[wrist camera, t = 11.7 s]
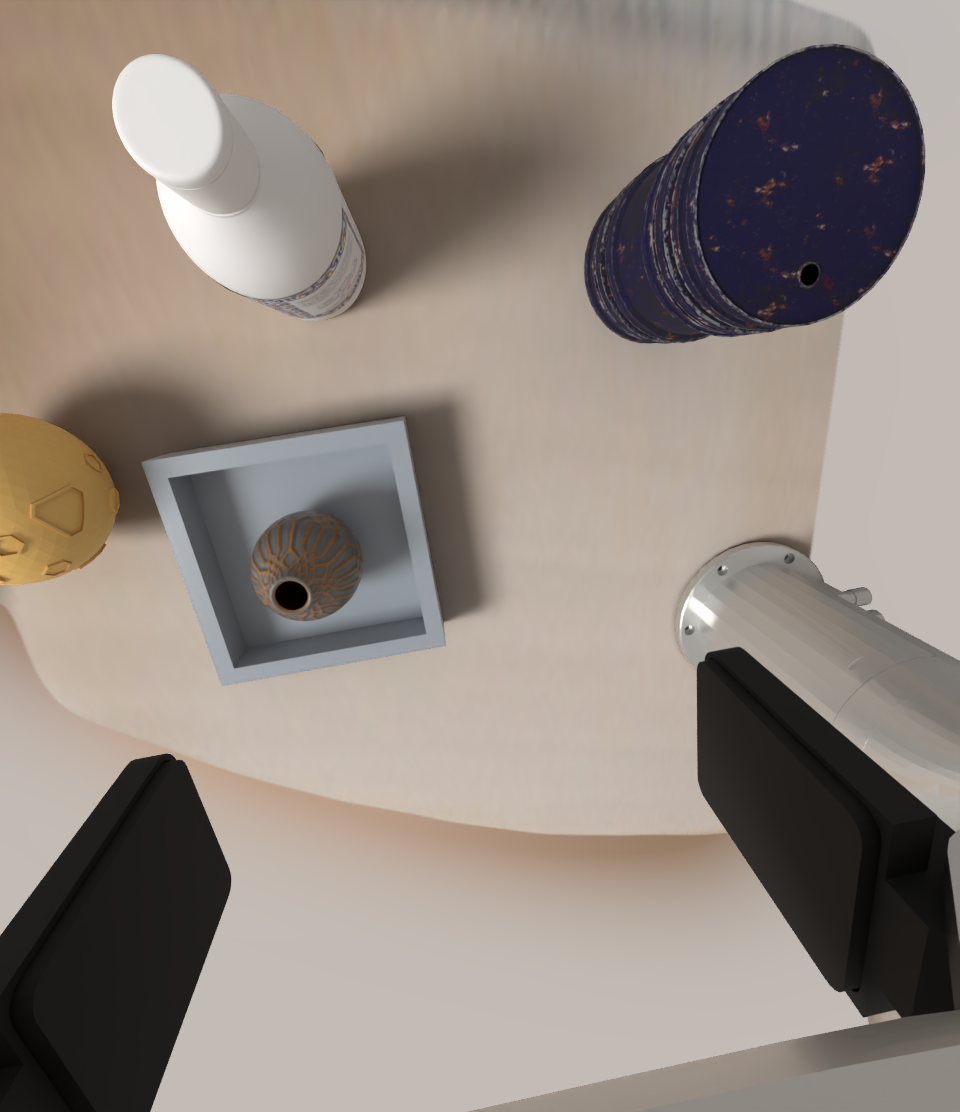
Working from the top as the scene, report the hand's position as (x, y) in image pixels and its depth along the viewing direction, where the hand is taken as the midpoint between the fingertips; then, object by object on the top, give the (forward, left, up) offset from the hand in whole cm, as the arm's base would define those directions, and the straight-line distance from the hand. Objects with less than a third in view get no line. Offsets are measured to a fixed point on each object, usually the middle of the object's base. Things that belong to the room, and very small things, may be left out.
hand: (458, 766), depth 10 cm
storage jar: (-17, -11, -31) cm, 37 cm away
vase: (+9, +4, -30) cm, 31 cm away
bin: (+9, +4, -30) cm, 32 cm away
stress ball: (+24, -3, -31) cm, 39 cm away
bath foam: (+5, -14, -31) cm, 34 cm away
